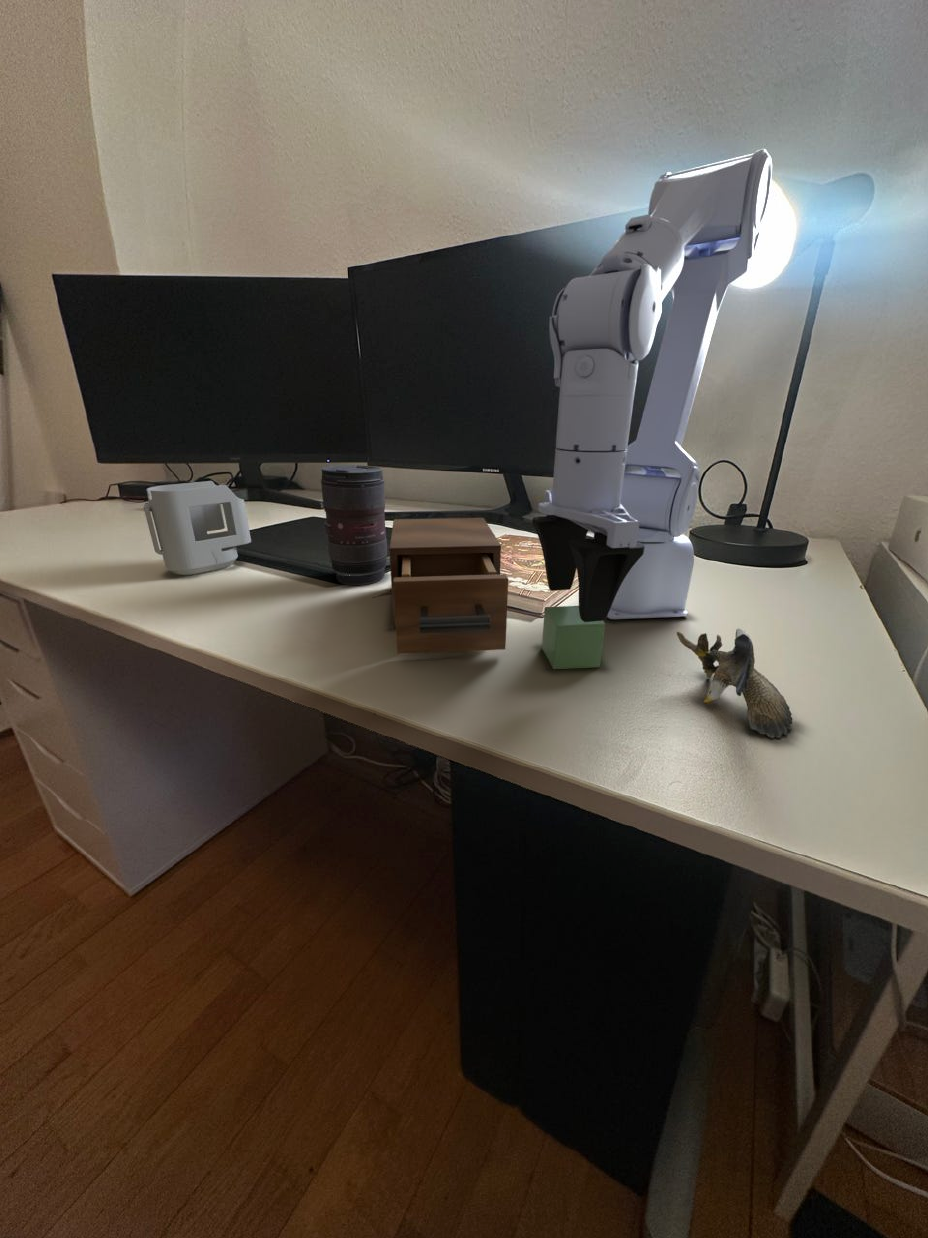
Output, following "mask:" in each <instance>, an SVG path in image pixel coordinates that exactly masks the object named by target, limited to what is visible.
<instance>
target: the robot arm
mask: <svg viewBox="0 0 928 1238" xmlns="http://www.w3.org/2000/svg"><path fill="white" fill-rule="evenodd" d="M772 175H773V161H772V156H771V155H770V154H769V153H768V151H767V149H766V148H761V149H758V150H756V151H755V152H754V153H749V154H746V155H742V156H737V157H734V158H733V157H732V158H730V159H725V160H721V161H718V162H713V163H709V164H705V165H701V166H697V167H692V168H688V169H685V170H679V171H676V172H673V173H672V172H671V171H669V172H664V173H662V174H661V175H660V176H659V178H658V179H657V181H655V183H654V186H653V189H652V192H651V195H650V199H649V203H648V204H649V205H648V212H647V214H644V215H638V216H634V217H631V218H630V219H629V220H628V222H627V223H626V224H625V227H624V228H625V229H624V231H623V232H622V234H621V235H620V237H619V238H618V239H617V240H616V241H615V243H614V244H613V245H612V246H611V248H609V250H608V251H607V252H606V254H604V256H603V257H602V258H601V260H600V262H599V263H598V264H597V265H596V266H595V267H594V269H593V270H592V271H591V273H589V275H586V276H579V277H574V278H572V279H571V280H570V281H568V283H567V284H566V286H565V287H563V288H561V290H560V291H559V292H558V293H557V296H556V298H555V300H554V304H553V307H552V311H551V312H552V314H551V316H549V324H548V325H549V327H548V328H549V340H550V346H551V351H552V353H553V360H554V362H553V363H554V365H553V367H554V369H553V379H554V385H555V387H559V395H558V396H559V397H558V410H557V411H558V412H557V422H556V423H557V424H556V436H555V450H554V451H555V452H554V464H553V465H554V466H553V477H552V489H546V490H544V495H543V496H544V497H543V502H539V503H538V505H537V511H538V513H540V514H542V515H543V516H533V517H532V518H531V523H532V526H533V528H534V530H535V532H536V534H537V537H538V540H539V543H540V548H541V550H542V551H541V552H542V555H543V562H544V567H545V575H546V581H547V585H548V589H549V590H550V591H551V592H555V591H569V590H571V589H572V586H573V584H574V581H575V577H576V573H577V581H578V606H579V612H580V617H581V620H583V621H584V622H592V621H603V622H604V621H606V620H607V619H609V620H628V619H629V620H630V619H654V618H656V619H657V618H681V617H683V618H684V617H688V614H689V613H688V611H687V610H686V605H687V601H688V595H689V590H690V586H691V581H692V575H693V571H694V564H695V552H694V551H695V550H694V546H693V544H692V541H691V540H690V538H689V537H687V536H686V535H685V533H686V532H687V531H688V530H689V529H690V526H691V524H692V521H693V518H694V515H695V512H696V506H697V502H698V501H697V500H698V493H699V491H698V490H699V486H700V482H701V471H700V467H699V464H698V463H697V461H696V460H695V459H694V458H693V457H692V456H691V455H690V454H689V453H688V452H687V451H686V450H684V449H683V448H682V445H683V442H684V438H685V433H686V430H687V427H688V423H689V419H690V416H691V412H692V409H693V405H694V401H695V398H696V394H697V390H698V386H699V383H700V379H701V375H702V372H703V368H704V366H705V365H704V364H705V360H706V358H707V353H708V350H709V347H710V344H711V343H710V342H711V338H712V335H713V332H714V328H715V325H716V320H717V317H718V314H719V311H720V309H721V307H722V304H723V300H724V299H725V295H726V293H727V290H728V287H729V286H730V285H731V284H732V283H734V282H735V281H736V280H738V279H739V278H741V277H742V276H744V274H746V273H748V271H749V268H750V265H751V261H752V259H753V258H754V256H755V254H756V250H757V246H758V243H759V239H760V236H761V232H762V228H763V225H764V221H765V218H766V214H767V208H768V203H769V197H770V193H771V186H772V185H771V184H772ZM669 292H671V293H672V299H673V300H672V303H671V307H670V310H669V315H668V318H667V322H666V325H665V326H666V327H665V330H664V333H663V338H662V341H661V345H660V349H659V353H658V356H657V360H656V364H655V368H654V371H653V375H652V378H651V382H650V386H649V390H648V393H647V398H646V401H645V405H644V409H643V411H642V412H643V413H642V416H641V420H640V425H639V428H638V431H637V435H636V439H635V440H634V441H633V442H631V443H630V444H629V439H630V431H631V424H632V423H631V422H632V415H633V409H634V400H635V393H636V385H637V378H638V371H639V361H643V359H645V358H646V357H647V355H649V353H650V351H651V348H652V346H653V344H654V339H655V336H656V330H657V326H658V323H659V321H660V319H661V315H662V312H663V307H662V306H663V305H662V303H663V301H664V299H665V298H666V296H667V295H668V294H669ZM544 515H545V516H544ZM589 532H590V533H593V538H586V537H587V535H588V533H589Z"/></svg>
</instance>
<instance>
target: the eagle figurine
mask: <svg viewBox="0 0 928 1238" xmlns="http://www.w3.org/2000/svg"><path fill="white" fill-rule="evenodd" d="M676 636H677V638H678V640H679V642H680V643H681V644H682V645H683V646H684V647H686V648H687V649H689V650H691V651H692V652H693V653H694V654H695V655H696V656H697V658H698V659H699V661H700V662H701V665H702V670H703V671H704V672H703V673H704V674H705V675H706V677H707V678H708V679H711V678H712V681H711V684H710V686H709V689H708V693H707V696H706V698H705V699H703V703H705V704H709V703H710V702H711V701H713V700H717V699H719V698H720V697H721V696H722V694H723V693H724V691H725V689H727V688H728V687H729V686H732V687H735V693H736V695H737V696H738V697H742V695H743V698H744V700H745V703H746V706H747V717H748V718H747V719H748V724H749V728H750V729H751V730H755V731H757V733H758V734H759V735H766V736H767V737H769V738H771V739H774V738H777V739H780V738H782V736H783V735H787V734H788V730H791V728H792V726H791V725H793V717H792V716H793V714H792V712H791V710H790V706H789V705H788V704H787V701H786V699H785V697H784V696H783V694H782V693H781V692H780V691H779V690H778V688H777V687H776V686H775V685H774V684H773V683H772V682H771V681H770V680H769V679H768V678H766V677H765V675H764V674H762V673H761V672H759V671H758V670H757V669H756V668H755V664H756V663H755V652H754V651H755V649H754V645H753V641H752V638H750V636H749V634H748V633H747V631H745V630H744V629H742V628H740V627H738V628H736V630H735V638H734V646H733V649H732V650H729V651H724V650H720V649H721V648H722V647H723V642H722V637H721V635H719V634H717V635H716V640H715V643H714V644H712V646H711V647H710V646H709V639H708V635H707V633H701V634H700V635H699V636H698V638H697V643H696V644H695V643H693V642H692V641H690V640H689V639H688V638H687V637H685V635H684V634H683V633H682V632H681V631H676ZM709 647H710V648H709ZM716 662H717V663H718V665H716V666H715V664H714V663H716ZM712 676H713V677H712Z"/></svg>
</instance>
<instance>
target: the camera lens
mask: <svg viewBox="0 0 928 1238" xmlns="http://www.w3.org/2000/svg"><path fill="white" fill-rule="evenodd" d="M320 485H321V496H322V504H323V511H324V512H325V520H324V532H325V533H326V534H325V535H327V546H328V556H329V559H330V563H331V568H332V570H333V569H334V570H335V571H337V572H339V573H342V574H346V575H350V576H344V577H340V576H338V575H337V574H336V573H335V576H336V580H337V582H338V583H340V584H343V585H349V586H362V585H363V586H364V585H369V584H375V583H377V582H379V581H382V580H383V579H384V578H385V575H386V571H385V569H386V566H387V565H388V541H387V540H388V539H387V532H386V531H387V530H386V515H385V511H386V510H385V509H386V489H385V479H384V475H383V469H382V468H381V467H378V466H373V465H372V466H371V465H362V464H361V465H356V464H340V465H339V464H338V465H328V466H323V467H322V468H321V479H320ZM334 570H333V571H334ZM335 571H334V572H335Z"/></svg>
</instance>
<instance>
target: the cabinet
mask: <svg viewBox="0 0 928 1238" xmlns="http://www.w3.org/2000/svg"><path fill="white" fill-rule="evenodd" d="M388 550H389V569H390V584H391V600H392V616H393V618H392V619H393V628H394V629H395V630H396V624H395V607H394V590H393V578H394V577H402V559H403V555H428V554H468V553H487V554H488V556H489V558H490V560H491V562H492V564H493V566H494V568H495V570H496V575H497V574H501V560H502V559H501V557H502V545H501V544H500V541H499V540H498V538H497V536H496V535H495V533H494V532H493V530H492V528H491V527H490V525H489V524H488V522H487V521H486V519H485V517H448V518H447V517H445V518H443V517H442V518H441V517H440V518H400V519H399V518H395V519H393V521H392V529H391V535H390V540H389V548H388Z"/></svg>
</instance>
